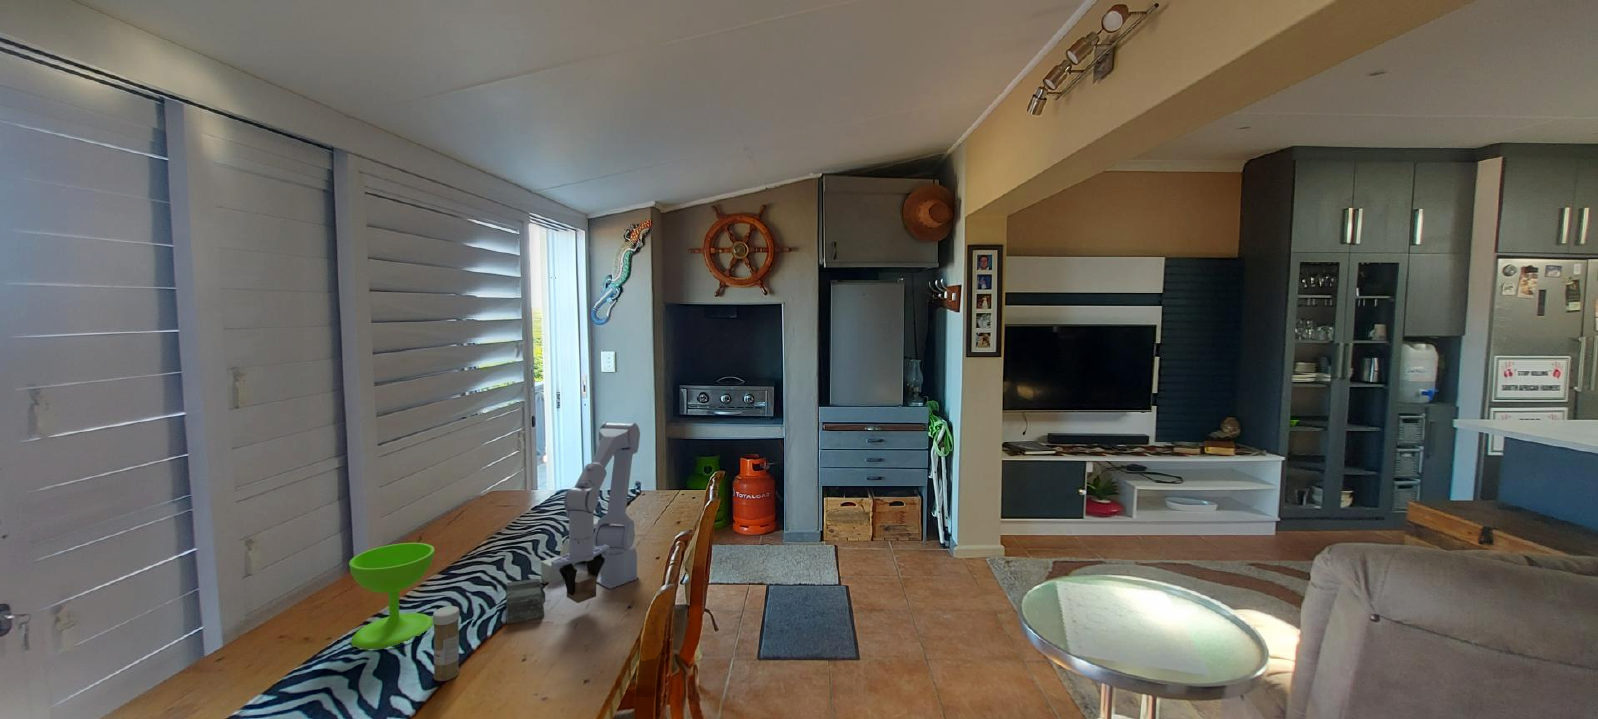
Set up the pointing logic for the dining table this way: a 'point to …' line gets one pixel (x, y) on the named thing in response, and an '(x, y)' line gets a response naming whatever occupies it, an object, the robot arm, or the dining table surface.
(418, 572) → the wineglass
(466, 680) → the dining table surface
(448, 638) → the sprinkles bottle
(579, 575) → the walnut cube
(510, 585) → the stone block
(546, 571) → the grey cube
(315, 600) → the dining table surface
